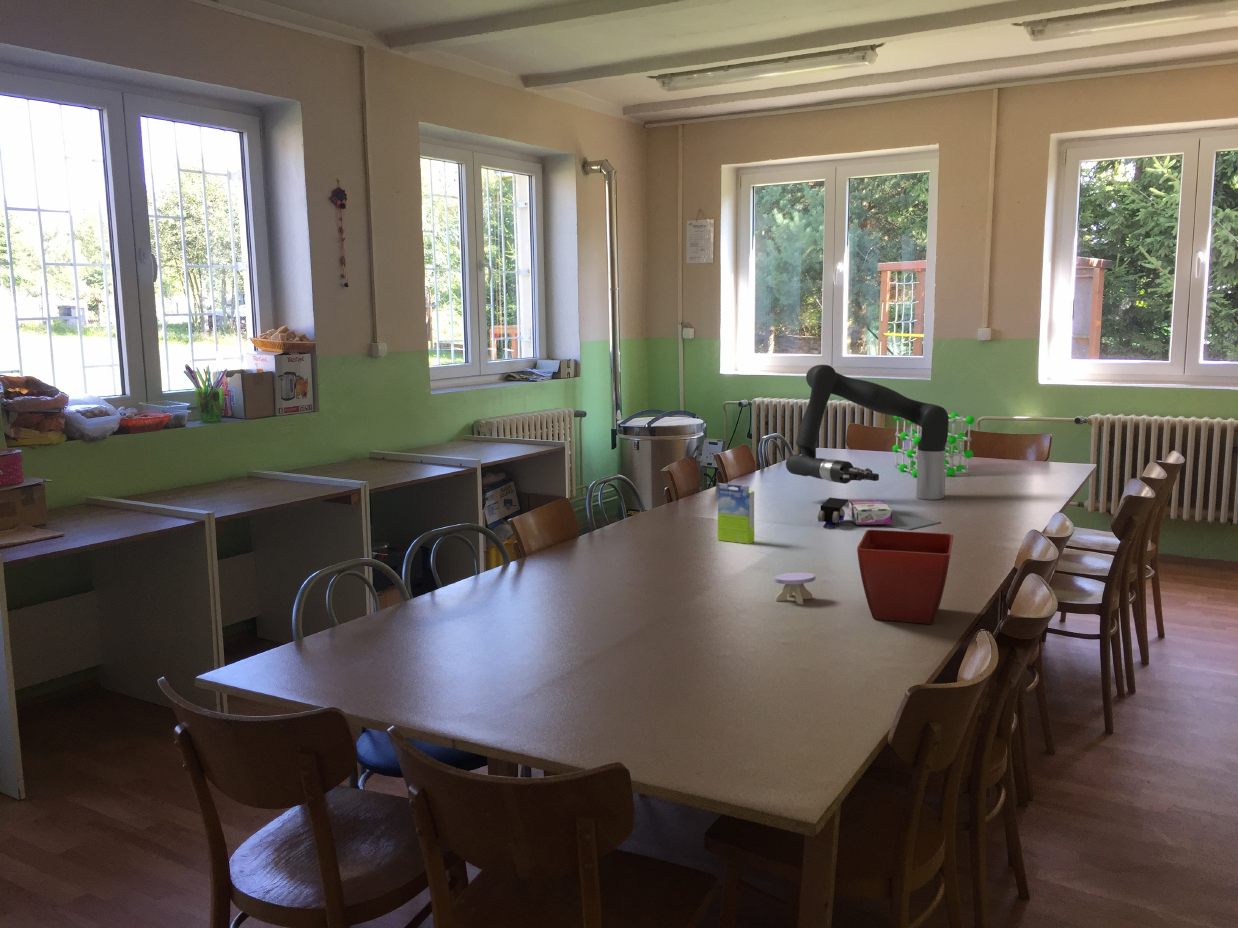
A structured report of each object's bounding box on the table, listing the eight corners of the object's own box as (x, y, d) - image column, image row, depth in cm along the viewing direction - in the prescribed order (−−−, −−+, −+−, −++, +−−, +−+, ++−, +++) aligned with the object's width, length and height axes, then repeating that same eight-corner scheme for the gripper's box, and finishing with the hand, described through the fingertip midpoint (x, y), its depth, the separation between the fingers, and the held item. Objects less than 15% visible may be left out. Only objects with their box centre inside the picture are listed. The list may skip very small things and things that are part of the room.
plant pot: (854, 622, 212) (856, 547, 209) (865, 598, 229) (867, 528, 227) (947, 631, 205) (950, 554, 202) (950, 605, 223) (953, 533, 220)
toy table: (811, 593, 234) (811, 570, 233) (819, 604, 225) (820, 580, 224) (770, 594, 234) (770, 571, 233) (777, 605, 225) (777, 581, 224)
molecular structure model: (890, 468, 411) (892, 411, 408) (947, 466, 414) (949, 410, 410) (913, 478, 388) (915, 417, 384) (973, 476, 390) (976, 416, 386)
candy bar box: (848, 515, 319) (855, 525, 303) (848, 500, 319) (855, 509, 303) (883, 515, 318) (892, 524, 302) (883, 500, 318) (892, 508, 301)
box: (755, 541, 286) (755, 483, 284) (749, 544, 283) (749, 486, 280) (722, 537, 292) (722, 481, 289) (716, 540, 288) (716, 483, 286)
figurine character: (838, 534, 300) (849, 519, 313) (838, 510, 298) (849, 496, 311) (816, 532, 303) (828, 517, 316) (816, 509, 301) (827, 495, 314)
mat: (894, 513, 321) (894, 512, 321) (940, 522, 307) (940, 521, 307) (862, 520, 312) (862, 519, 312) (908, 530, 298) (908, 528, 298)
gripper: (823, 462, 325) (864, 468, 311) (849, 458, 332) (891, 464, 319) (822, 484, 326) (863, 491, 312) (849, 479, 334) (890, 486, 320)
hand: (877, 477), depth 315 cm, fingers closed
